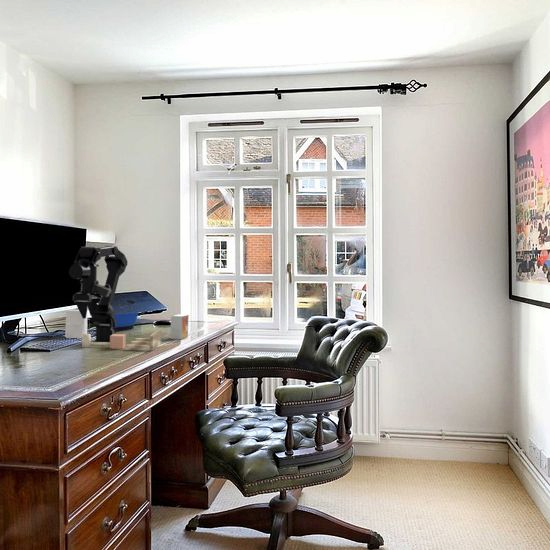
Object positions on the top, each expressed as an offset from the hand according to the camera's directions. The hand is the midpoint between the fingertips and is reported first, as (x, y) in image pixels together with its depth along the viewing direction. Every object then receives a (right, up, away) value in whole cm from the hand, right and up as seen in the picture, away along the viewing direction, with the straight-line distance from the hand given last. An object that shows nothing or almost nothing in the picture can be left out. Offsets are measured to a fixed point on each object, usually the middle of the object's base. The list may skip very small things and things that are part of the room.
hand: (88, 317), depth 204 cm
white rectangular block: (-14, -11, +23) cm, 29 cm away
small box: (+31, -12, +30) cm, 45 cm away
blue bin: (-3, -11, +49) cm, 50 cm away
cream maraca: (+6, -12, 0) cm, 14 cm away
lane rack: (+21, -12, +4) cm, 25 cm away
